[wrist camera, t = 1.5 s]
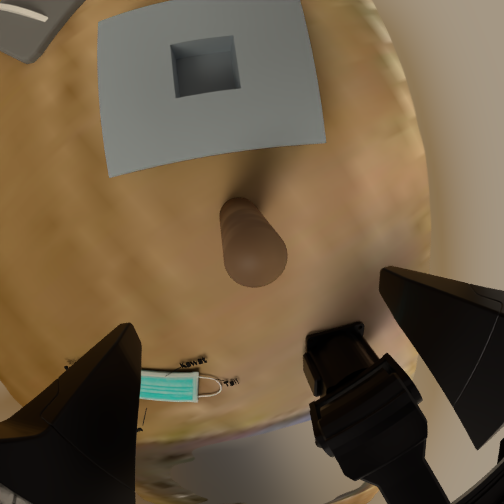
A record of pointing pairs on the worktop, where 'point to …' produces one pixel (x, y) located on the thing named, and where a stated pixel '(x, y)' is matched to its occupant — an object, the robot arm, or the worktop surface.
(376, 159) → the worktop surface
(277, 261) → the dowel
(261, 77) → the hole block
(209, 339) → the worktop surface
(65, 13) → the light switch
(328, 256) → the worktop surface
